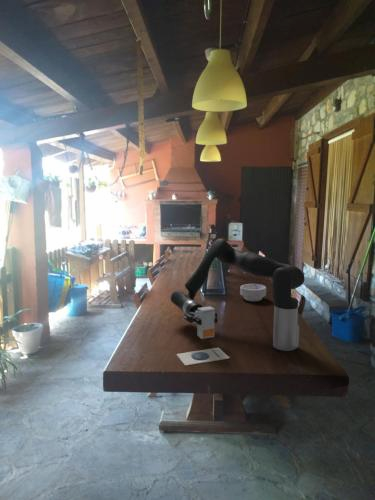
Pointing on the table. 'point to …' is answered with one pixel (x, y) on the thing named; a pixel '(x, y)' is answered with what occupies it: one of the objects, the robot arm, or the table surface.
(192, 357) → the paper sheet
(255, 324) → the table surface
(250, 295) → the paper bowls
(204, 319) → the skincare box
